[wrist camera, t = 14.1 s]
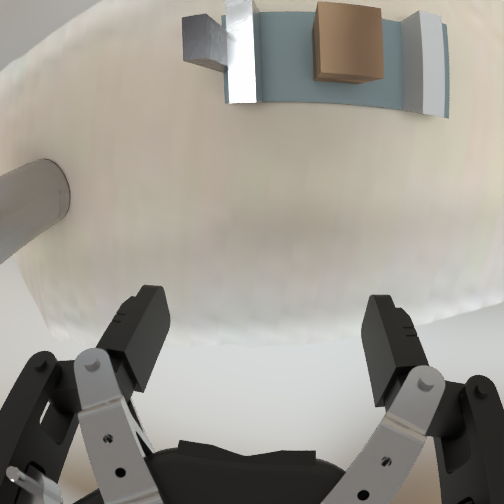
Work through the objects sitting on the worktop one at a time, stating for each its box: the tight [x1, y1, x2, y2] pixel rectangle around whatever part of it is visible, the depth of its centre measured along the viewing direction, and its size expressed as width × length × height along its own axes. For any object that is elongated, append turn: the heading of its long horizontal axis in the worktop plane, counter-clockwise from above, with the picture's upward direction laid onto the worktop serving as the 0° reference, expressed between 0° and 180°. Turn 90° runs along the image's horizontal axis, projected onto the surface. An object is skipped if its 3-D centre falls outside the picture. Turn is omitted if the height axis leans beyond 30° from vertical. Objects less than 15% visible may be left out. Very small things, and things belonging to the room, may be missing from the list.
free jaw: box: [182, 0, 263, 103], centre depth 19 cm, size 4×9×10 cm, turn 2°
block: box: [312, 2, 384, 84], centre depth 18 cm, size 4×5×9 cm
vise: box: [221, 10, 449, 118], centre depth 21 cm, size 20×9×6 cm, turn 92°
